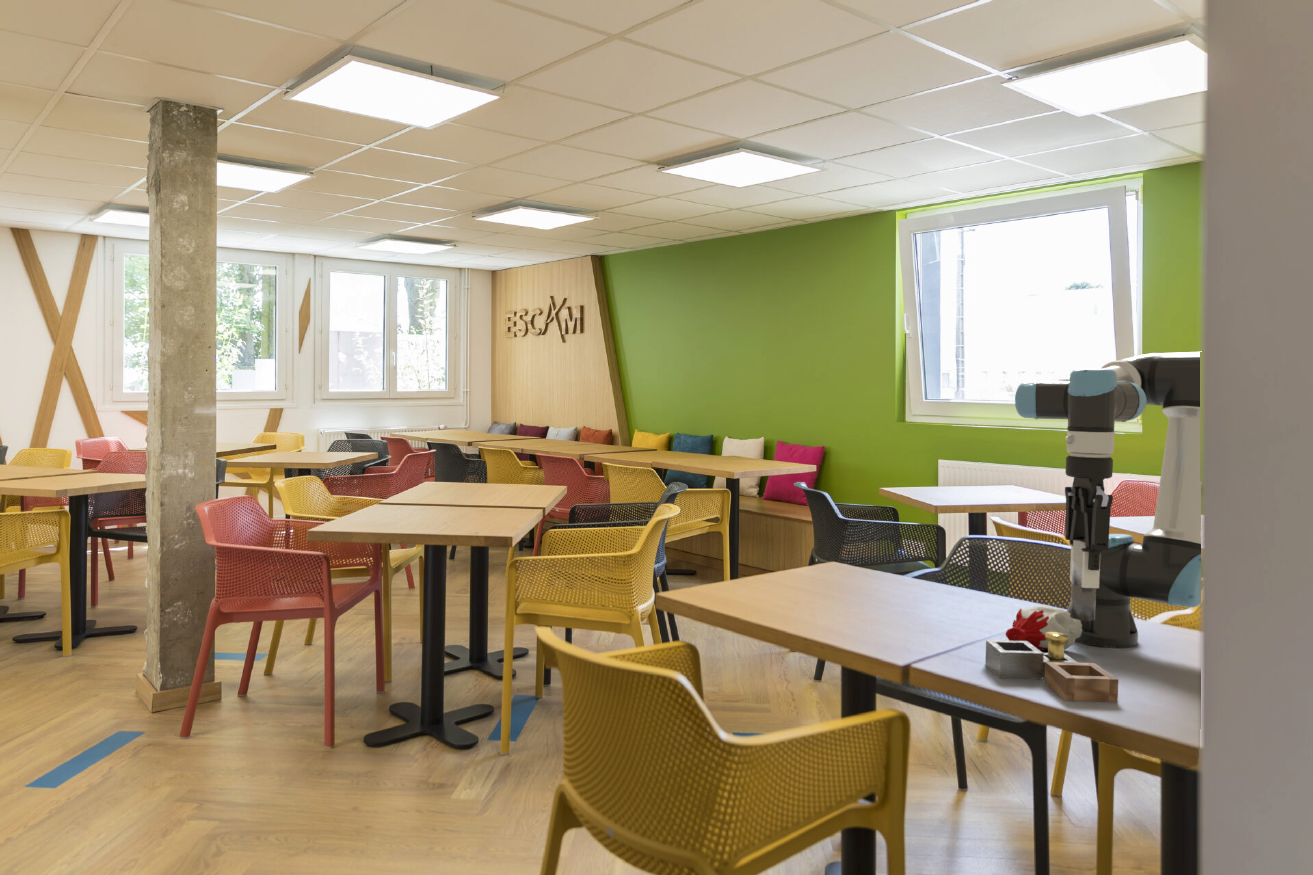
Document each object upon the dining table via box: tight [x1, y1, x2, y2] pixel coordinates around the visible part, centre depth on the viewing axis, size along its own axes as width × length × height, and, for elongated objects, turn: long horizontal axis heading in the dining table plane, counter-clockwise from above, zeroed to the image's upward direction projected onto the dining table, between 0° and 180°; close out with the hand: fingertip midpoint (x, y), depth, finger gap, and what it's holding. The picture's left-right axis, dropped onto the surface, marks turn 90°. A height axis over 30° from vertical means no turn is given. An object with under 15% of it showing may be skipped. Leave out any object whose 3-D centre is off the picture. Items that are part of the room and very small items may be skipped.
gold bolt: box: [1045, 632, 1068, 661], centre depth 165 cm, size 4×4×7 cm
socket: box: [984, 639, 1079, 680], centre depth 165 cm, size 15×8×5 cm, turn 88°
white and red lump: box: [1005, 605, 1082, 651], centre depth 181 cm, size 9×11×15 cm
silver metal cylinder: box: [1070, 539, 1096, 621], centre depth 153 cm, size 4×4×14 cm
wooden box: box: [1044, 662, 1119, 703], centre depth 154 cm, size 9×9×4 cm
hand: (1084, 584), depth 153 cm, fingers closed on silver metal cylinder, 4 cm apart
